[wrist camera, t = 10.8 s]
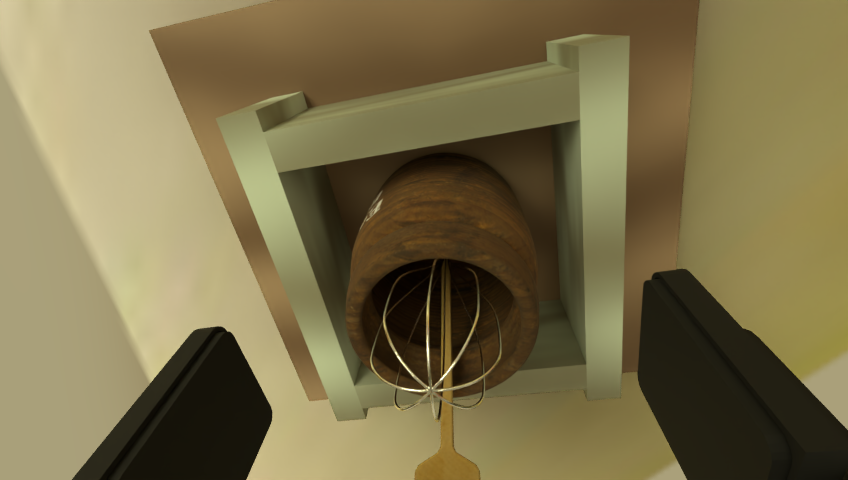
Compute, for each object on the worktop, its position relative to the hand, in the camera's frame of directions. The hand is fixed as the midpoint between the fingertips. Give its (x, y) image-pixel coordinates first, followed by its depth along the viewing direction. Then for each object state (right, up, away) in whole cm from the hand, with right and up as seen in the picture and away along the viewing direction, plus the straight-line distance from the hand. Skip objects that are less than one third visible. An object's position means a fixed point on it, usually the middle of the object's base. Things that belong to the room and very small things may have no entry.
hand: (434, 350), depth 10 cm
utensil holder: (+1, +3, +8) cm, 8 cm away
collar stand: (+1, +4, +9) cm, 10 cm away
